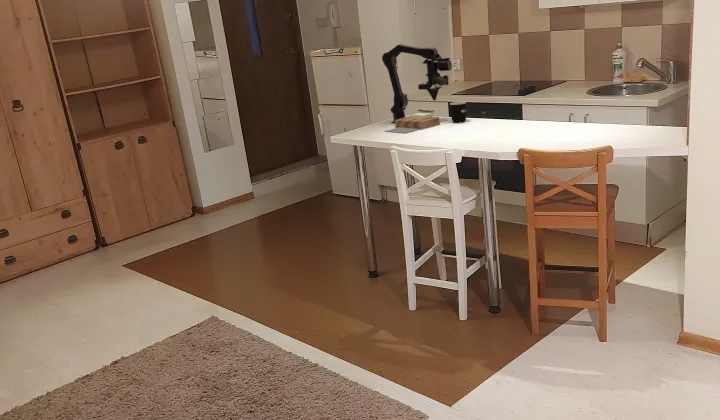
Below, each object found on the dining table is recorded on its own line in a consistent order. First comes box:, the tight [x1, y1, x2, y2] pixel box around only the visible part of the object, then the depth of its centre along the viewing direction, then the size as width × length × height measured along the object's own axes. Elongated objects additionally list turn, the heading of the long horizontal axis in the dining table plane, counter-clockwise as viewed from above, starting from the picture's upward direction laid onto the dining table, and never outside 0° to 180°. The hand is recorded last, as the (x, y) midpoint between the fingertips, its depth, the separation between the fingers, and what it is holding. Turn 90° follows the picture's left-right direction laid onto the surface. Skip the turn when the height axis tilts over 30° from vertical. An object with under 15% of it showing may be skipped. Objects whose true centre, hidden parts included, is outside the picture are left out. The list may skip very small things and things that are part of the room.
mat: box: [384, 127, 421, 134], centre depth 349 cm, size 16×11×1 cm
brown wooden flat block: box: [394, 115, 441, 130], centre depth 357 cm, size 20×14×4 cm
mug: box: [449, 101, 467, 124], centre depth 356 cm, size 12×9×10 cm
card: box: [411, 112, 433, 119], centre depth 358 cm, size 9×6×2 cm, turn 41°
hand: (434, 100), depth 362 cm, fingers closed
